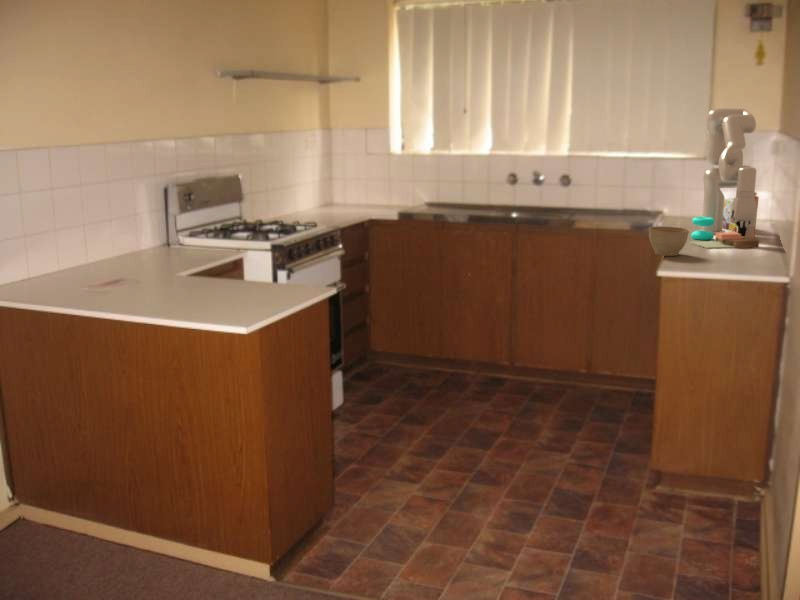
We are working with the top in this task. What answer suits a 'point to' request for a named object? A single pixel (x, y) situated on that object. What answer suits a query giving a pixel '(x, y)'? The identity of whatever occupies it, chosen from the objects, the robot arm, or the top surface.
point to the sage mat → (712, 244)
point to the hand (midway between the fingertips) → (741, 235)
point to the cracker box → (751, 224)
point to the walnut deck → (740, 242)
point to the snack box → (728, 216)
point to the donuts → (702, 222)
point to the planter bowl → (668, 240)
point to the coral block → (728, 235)
